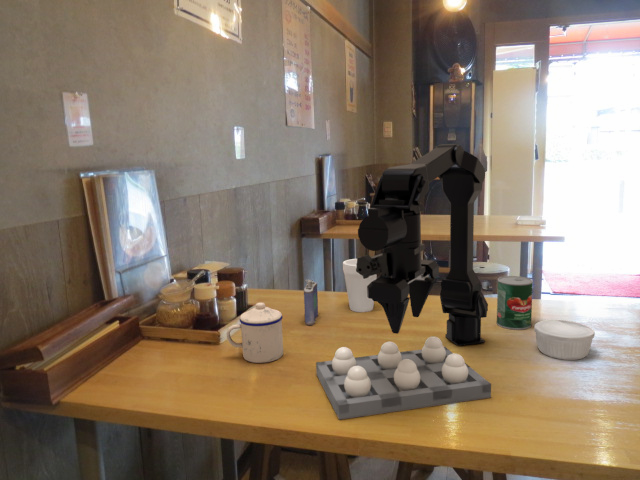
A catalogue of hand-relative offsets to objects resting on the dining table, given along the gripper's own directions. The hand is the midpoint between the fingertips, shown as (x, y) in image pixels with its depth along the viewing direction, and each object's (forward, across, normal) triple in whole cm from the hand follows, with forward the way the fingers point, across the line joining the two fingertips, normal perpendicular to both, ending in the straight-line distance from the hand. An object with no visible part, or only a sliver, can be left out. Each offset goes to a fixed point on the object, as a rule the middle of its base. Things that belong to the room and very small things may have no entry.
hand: (406, 324), depth 95 cm
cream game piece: (+10, +4, +2) cm, 11 cm away
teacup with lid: (+12, +2, -34) cm, 36 cm away
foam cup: (+12, -37, -29) cm, 49 cm away
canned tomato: (+13, -42, +10) cm, 45 cm away
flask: (+12, -23, -36) cm, 45 cm away
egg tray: (+12, +1, -1) cm, 12 cm away
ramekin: (+12, -29, +22) cm, 39 cm away
